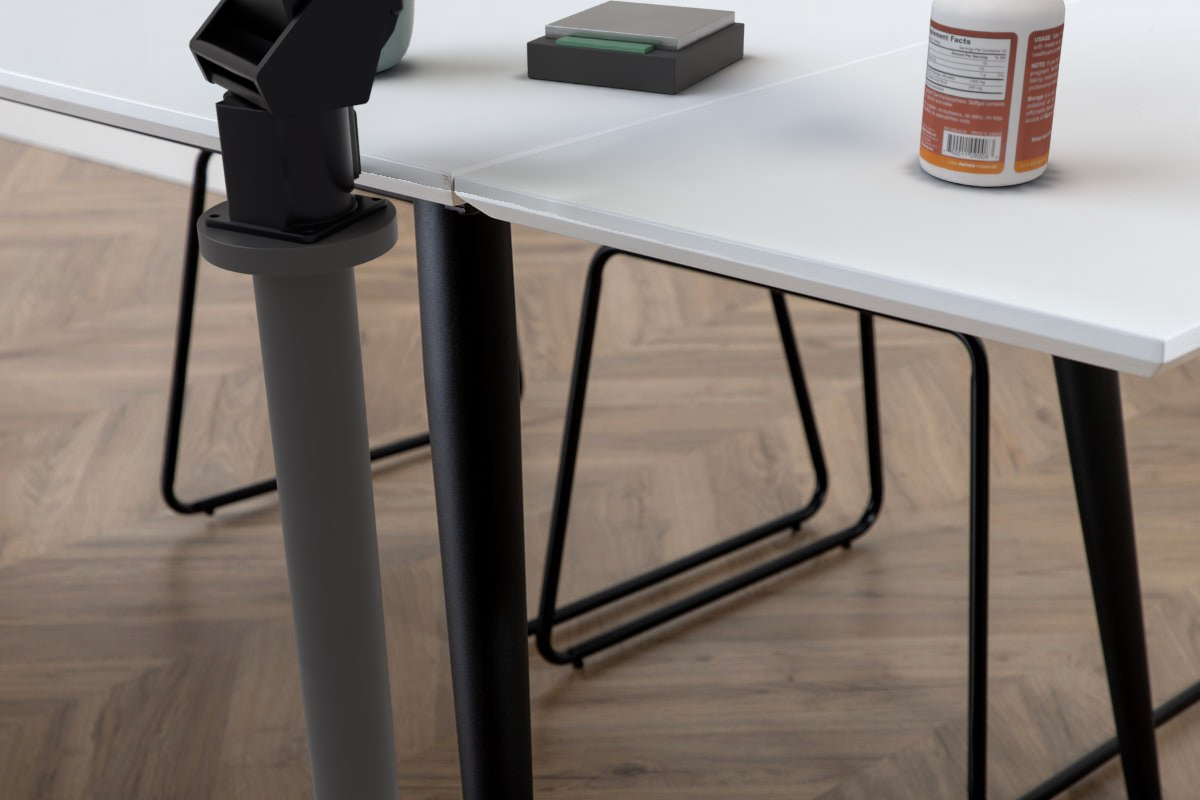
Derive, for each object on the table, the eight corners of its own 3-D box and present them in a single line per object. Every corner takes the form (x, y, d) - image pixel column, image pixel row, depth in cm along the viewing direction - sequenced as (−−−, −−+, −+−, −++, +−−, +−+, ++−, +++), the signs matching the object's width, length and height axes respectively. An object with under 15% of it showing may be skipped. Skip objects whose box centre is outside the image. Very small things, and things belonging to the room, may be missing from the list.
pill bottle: (1012, 149, 75) (1039, -74, 71) (1068, 185, 70) (1101, -55, 65) (898, 157, 74) (917, -70, 70) (946, 193, 69) (970, -50, 64)
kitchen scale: (674, 94, 86) (675, 43, 85) (527, 77, 90) (525, 29, 89) (743, 57, 95) (745, 10, 94) (606, 43, 99) (606, -2, 98)
